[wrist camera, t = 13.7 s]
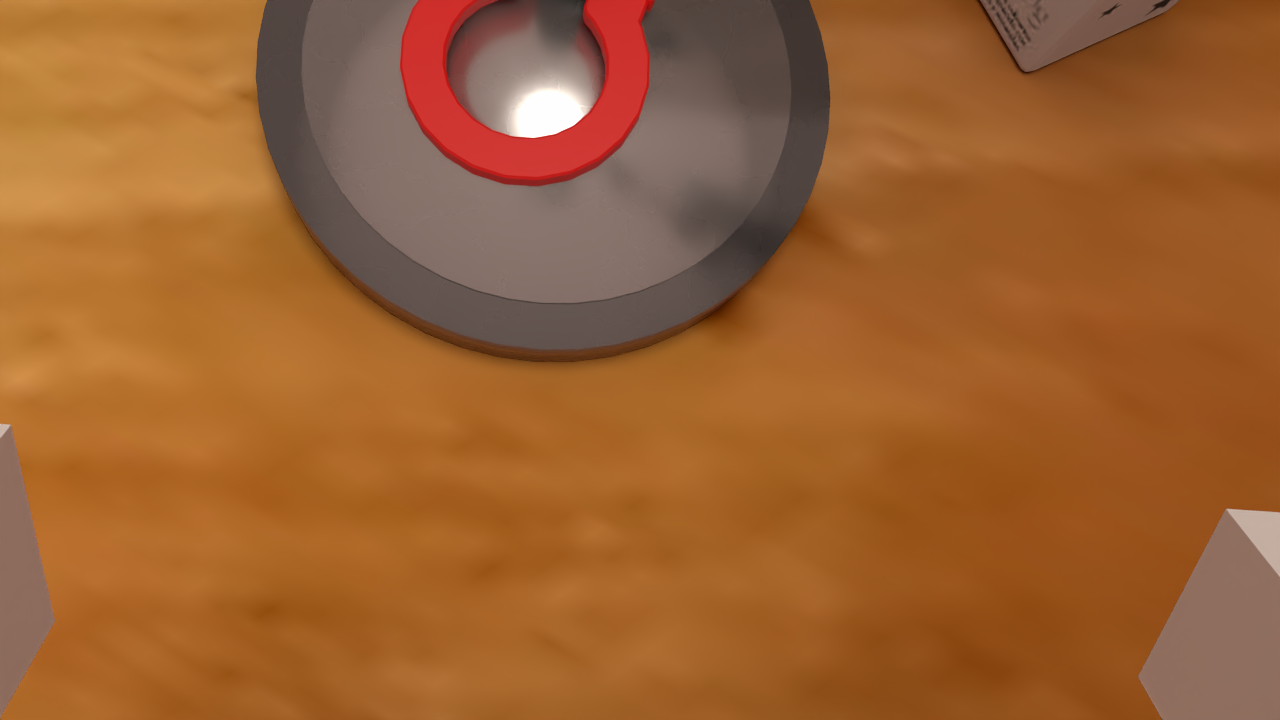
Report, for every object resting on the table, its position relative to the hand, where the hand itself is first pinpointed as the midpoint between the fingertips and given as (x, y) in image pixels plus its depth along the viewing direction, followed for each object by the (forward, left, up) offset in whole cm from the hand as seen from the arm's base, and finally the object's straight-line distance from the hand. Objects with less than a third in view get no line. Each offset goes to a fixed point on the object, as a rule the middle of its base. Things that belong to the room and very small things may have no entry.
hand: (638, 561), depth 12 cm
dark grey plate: (+11, -14, -24) cm, 30 cm away
